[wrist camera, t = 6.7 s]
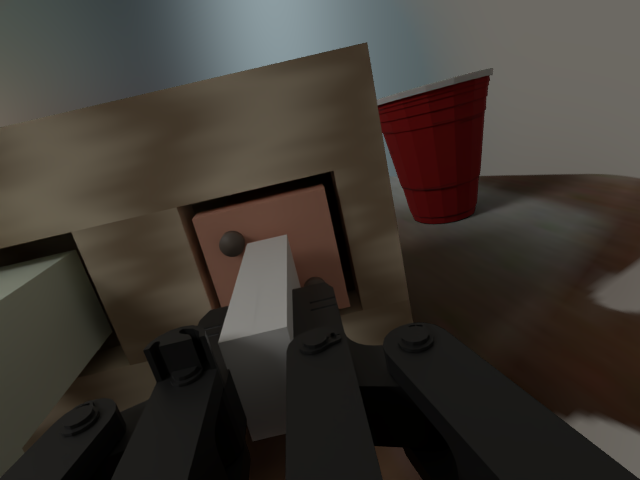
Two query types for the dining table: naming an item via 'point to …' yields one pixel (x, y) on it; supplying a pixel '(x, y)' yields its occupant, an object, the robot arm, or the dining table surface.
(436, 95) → the plastic cup
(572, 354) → the dining table surface
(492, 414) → the robot arm
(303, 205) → the button
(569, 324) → the dining table surface
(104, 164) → the console
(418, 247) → the dining table surface
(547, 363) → the dining table surface
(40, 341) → the button
